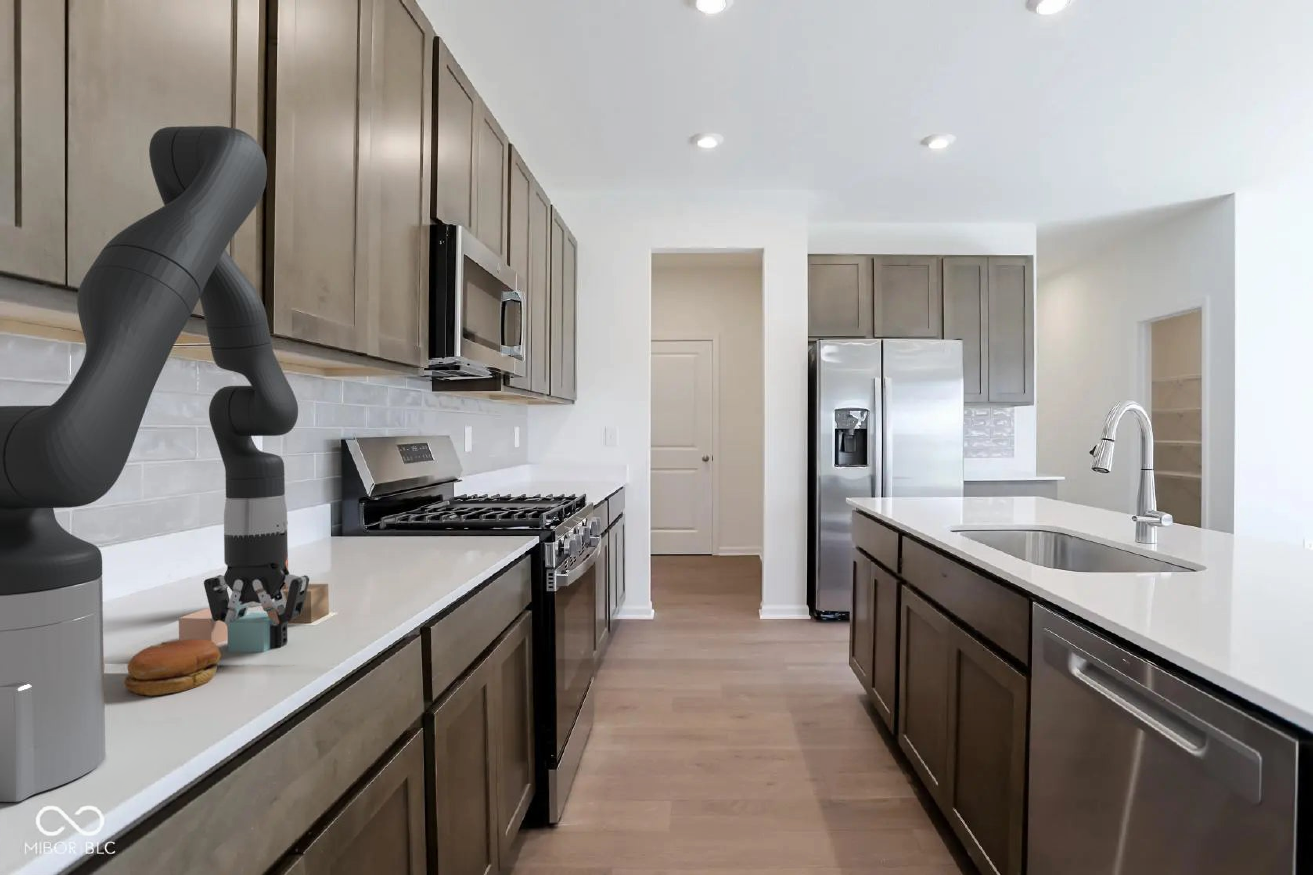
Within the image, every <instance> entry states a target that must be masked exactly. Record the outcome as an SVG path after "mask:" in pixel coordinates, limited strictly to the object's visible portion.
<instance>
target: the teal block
mask: <svg viewBox="0 0 1313 875" xmlns="http://www.w3.org/2000/svg"><path fill="white" fill-rule="evenodd" d="M270 626H272V624H271V622H270V619H269V616H268V614H267V612H250V613H248V614H246V615H245V616H243V617H241V618H238V619H236V620H234V621H231V622H229V623H227V629H228V640H227V653H265V652H266V651H268V650H270Z"/></svg>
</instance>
